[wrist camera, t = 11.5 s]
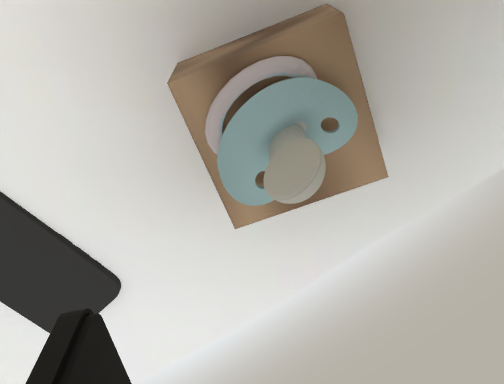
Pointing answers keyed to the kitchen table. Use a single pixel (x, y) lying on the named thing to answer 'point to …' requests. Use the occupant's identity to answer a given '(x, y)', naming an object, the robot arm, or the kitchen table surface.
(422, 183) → the kitchen table surface
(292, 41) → the block
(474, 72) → the kitchen table surface
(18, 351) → the kitchen table surface
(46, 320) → the phone
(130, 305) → the kitchen table surface
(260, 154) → the pacifier
